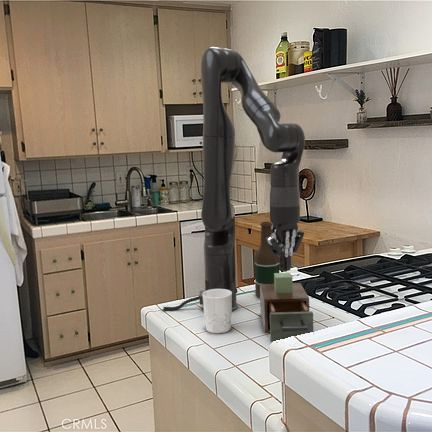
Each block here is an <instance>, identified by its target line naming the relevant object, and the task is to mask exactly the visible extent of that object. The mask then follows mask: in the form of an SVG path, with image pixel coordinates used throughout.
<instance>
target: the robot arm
mask: <svg viewBox="0 0 432 432" xmlns="http://www.w3.org/2000/svg"><path fill="white" fill-rule="evenodd" d="M200 78H201V79H200V80H201V81H200V82H201V90H202V92H201V93H202V107H203V109H202V110H203V111H202V114H203V117H202V118H203V119H202V121H203V122H202V124H203V127H202V164H203V165H202V166H203V168H202V169H203V179H204V181H203V182H204V183H203V186H204V187H203V194H202V195H203V196H202V205H201V212H200V218H201V222H202V224H203V225H204V240H203V241H204V242H203V256H204V259H203V260H204V290H199V294H198V295H199V296H195V297H191V298H189V299H186V300H184V301H182V302H181V303H180V304H179V305H177V306H163V307H162V309H163V311H176V310H177V311H178V310H180V309H182V308H183V307H184V306H185V305H187V304H189V303H191V302H196V301H199V305H200V306H203V295H202V293H203V292H204V291H207V290H210V289H226V290H229V291H231V292H232V310H231V311H235V310H236V309H237V308H238V303H237V301H238V300H237V294H238V288H237V274H236V270H237V269H236V212H235V207H234V205H233V204H232V202H231V190H230V189H231V177H232V173H233V167H234V162H235V151H236V129H235V126H234V124H233V121H232V119H231V117H230V114H229V113H228V111H227V109H226V107H225V104H224V101H223V96H222V95H223V94H222V84H231V85H232V86H233V87H235V88H236V89H237V90H238V92H239V93H240V99H241V101H240V103H241V106H242V109H243V111H244V113H245V115H246V116H247V117H248V118H249V120H250V121H251V122H252V124H253V125H254V126H255V127H256V130H257V133H258V135H259V138H260V140H261V143H262V145H263V146H264V148H265V149H266V150H268V151H269V152H272V153H277V154H279V153H282V155H281V158H280V159H279V160H278V161H276V162H273V163H272V164H271V166H270V173H269V174H270V179H269V181H270V189H269V222H271V223H272V227H271V228H272V234H271V236H270V237H269V238H268V237H266V239H265V241H266V243H267V244H268V246H269V248H270V249H271V251H272V252H273V254H274V255H278V256H279V270H280V271H282V272H288V271H291V268H292V256H293V254H295V253H297V252H298V249H299V247H300V245H301V243H302V241H303V238H304V236H305V232H304V231H301V230H300V229H299V225H298V223H299V222H300V221H301V196H300V195H301V192H300V182H299V180H300V179H299V178H300V177H299V175H300V173H299V172H300V171H299V170H300V166H301V162H302V157H303V154H304V149H305V145H306V136H305V131H304V129H303V128H302V126H301V125H299V124H298V123H292V122H289V123H288V122H287V123H280V121H281V117H282V116H281V111H280V110H279V108H278V107H277V106H276V105H275V104H274V102H273V101H272V100H271V99H270V98H269V96H267V94H266V93H265V92H264V91H263V89H262V88H261V86H259V83H258V82H257V79H255V77H254V75H253V73H252V72H251V70H250V68H249V65H247V62H246V61H245V59H244V57H243V56H242V55H241V54H240V52H238V51H236V50H234V49H230V48H223V47H215V46H212V47H209V48H206V49H205V50H204V52H203V54H202V57H201V61H200Z"/></svg>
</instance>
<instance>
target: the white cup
mask: <svg viewBox="0 0 432 432" xmlns="http://www.w3.org/2000/svg"><path fill="white" fill-rule="evenodd" d="M203 291H204V292H203V293H202V295H203V305H202V306H203V316H204V321H205V322H204V323H205V329H206V331H207V332H208V333H212V334H224V333H227V332H229V331H231V328H232V322H231V321H232V313H233V312H232V311H233V310H232V292H231V291H229V290H226V289H210V290H207V291H205V290H203ZM231 310H232V311H231Z"/></svg>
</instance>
